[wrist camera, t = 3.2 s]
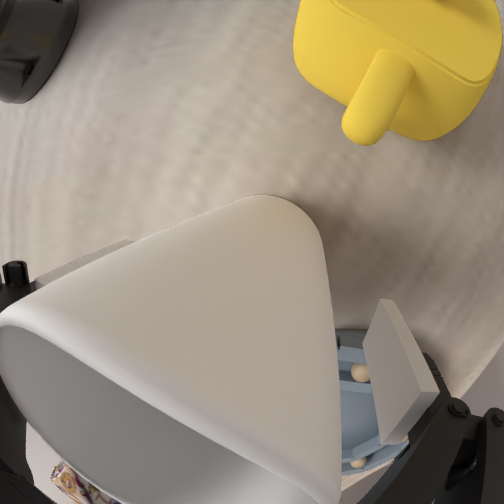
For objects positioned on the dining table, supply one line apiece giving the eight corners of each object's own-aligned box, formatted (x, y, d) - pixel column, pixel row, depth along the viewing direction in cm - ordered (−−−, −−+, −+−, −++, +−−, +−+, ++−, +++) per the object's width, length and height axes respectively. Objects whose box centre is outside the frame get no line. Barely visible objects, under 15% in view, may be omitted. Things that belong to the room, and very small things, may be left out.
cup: (319, 189, 16) (403, 336, 1) (325, 307, 19) (320, 549, 4) (197, 202, 18) (-40, 294, 3) (215, 310, 20) (90, 489, 5)
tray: (240, 303, 20) (230, 321, 17) (464, 344, 17) (476, 361, 14) (218, 442, 26) (212, 458, 24) (374, 464, 23) (375, 480, 21)
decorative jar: (156, 457, 32) (110, 535, 15) (99, 412, 31) (38, 485, 14) (196, 446, 28) (143, 552, 11) (125, 391, 27) (43, 491, 10)
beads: (251, 331, 19) (245, 345, 17) (452, 363, 16) (460, 376, 15) (227, 447, 24) (223, 459, 23) (370, 467, 22) (370, 478, 20)
